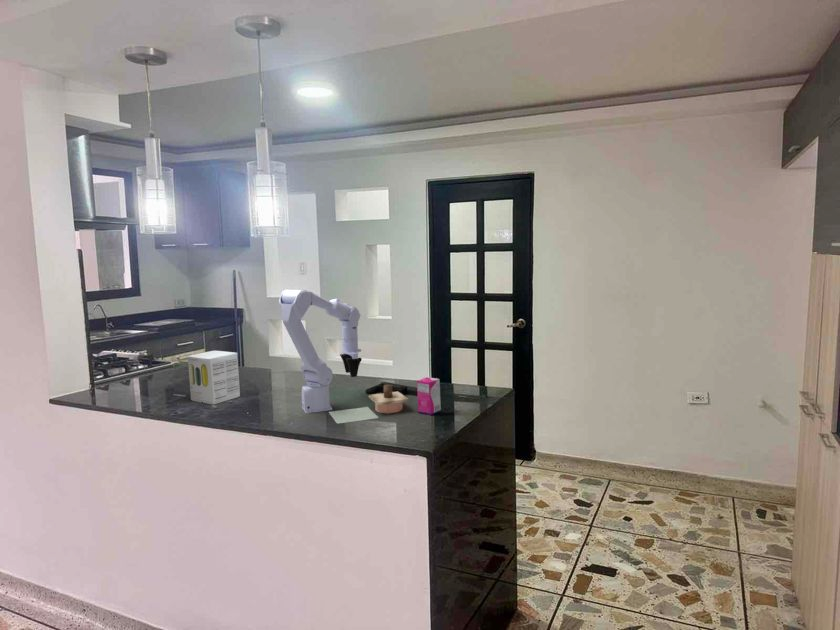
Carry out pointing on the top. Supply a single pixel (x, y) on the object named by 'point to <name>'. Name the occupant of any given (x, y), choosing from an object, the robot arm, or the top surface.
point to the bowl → (389, 407)
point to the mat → (352, 415)
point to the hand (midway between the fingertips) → (351, 374)
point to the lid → (388, 396)
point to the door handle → (395, 388)
